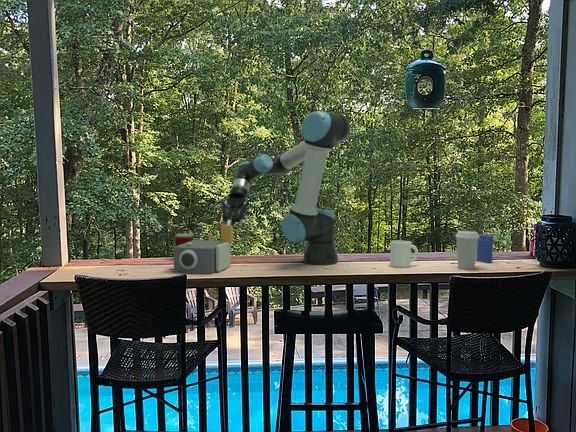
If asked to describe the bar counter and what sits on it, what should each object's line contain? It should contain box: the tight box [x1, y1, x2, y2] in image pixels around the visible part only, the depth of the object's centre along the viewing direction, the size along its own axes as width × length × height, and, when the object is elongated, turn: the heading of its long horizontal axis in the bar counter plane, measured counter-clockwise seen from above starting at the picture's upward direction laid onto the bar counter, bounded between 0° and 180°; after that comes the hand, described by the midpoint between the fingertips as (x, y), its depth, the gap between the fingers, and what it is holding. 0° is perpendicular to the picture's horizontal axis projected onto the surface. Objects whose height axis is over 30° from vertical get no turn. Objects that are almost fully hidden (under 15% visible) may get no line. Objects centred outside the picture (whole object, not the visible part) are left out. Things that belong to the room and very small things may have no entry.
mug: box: [389, 239, 419, 268], centre depth 236 cm, size 12×8×10 cm
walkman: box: [475, 233, 494, 264], centre depth 247 cm, size 8×3×12 cm, turn 39°
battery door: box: [216, 224, 234, 273], centre depth 226 cm, size 4×13×17 cm, turn 166°
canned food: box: [174, 233, 194, 247], centre depth 250 cm, size 8×8×11 cm
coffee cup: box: [455, 230, 480, 270], centre depth 232 cm, size 10×10×15 cm
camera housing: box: [173, 239, 225, 275], centre depth 228 cm, size 16×22×11 cm
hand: (226, 233), depth 234 cm, fingers closed
